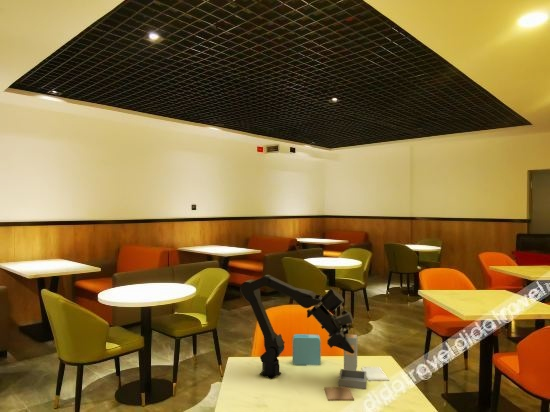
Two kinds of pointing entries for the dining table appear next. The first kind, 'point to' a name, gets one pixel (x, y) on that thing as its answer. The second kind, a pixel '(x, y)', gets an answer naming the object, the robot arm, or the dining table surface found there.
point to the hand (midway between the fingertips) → (354, 350)
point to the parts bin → (352, 379)
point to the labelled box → (350, 358)
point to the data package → (306, 349)
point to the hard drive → (375, 374)
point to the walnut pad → (338, 394)
